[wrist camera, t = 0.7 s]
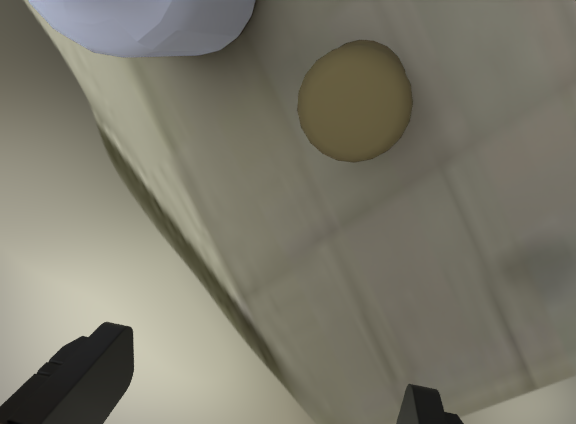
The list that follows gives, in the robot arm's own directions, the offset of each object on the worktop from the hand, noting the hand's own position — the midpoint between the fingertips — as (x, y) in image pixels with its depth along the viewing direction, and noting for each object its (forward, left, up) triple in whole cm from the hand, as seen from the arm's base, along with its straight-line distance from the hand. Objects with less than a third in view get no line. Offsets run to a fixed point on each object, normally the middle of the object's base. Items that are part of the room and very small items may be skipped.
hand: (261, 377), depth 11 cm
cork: (-4, -5, -20) cm, 21 cm away
